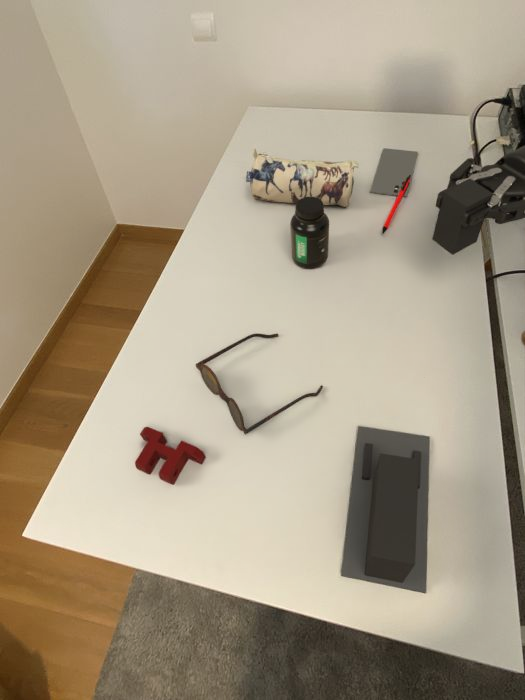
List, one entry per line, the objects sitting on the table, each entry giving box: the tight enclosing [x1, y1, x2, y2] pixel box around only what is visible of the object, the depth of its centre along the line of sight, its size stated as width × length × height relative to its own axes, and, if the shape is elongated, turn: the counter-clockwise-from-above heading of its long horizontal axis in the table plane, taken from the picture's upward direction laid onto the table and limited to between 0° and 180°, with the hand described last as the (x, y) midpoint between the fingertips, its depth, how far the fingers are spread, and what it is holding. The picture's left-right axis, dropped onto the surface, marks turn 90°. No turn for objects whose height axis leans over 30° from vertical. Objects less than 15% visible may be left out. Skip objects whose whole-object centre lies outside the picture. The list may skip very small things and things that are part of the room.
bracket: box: [134, 426, 207, 486], centre depth 71 cm, size 3×6×10 cm
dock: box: [340, 425, 431, 594], centre depth 62 cm, size 10×20×10 cm, turn 168°
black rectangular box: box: [431, 179, 493, 256], centre depth 75 cm, size 4×5×9 cm
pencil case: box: [245, 148, 359, 208], centre depth 101 cm, size 22×8×10 cm, turn 77°
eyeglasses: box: [195, 333, 324, 436], centre depth 76 cm, size 15×15×5 cm
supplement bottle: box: [289, 196, 330, 270], centre depth 89 cm, size 7×7×12 cm
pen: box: [381, 175, 411, 235], centre depth 100 cm, size 1×19×1 cm, turn 154°
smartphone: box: [369, 147, 419, 198], centre depth 107 cm, size 8×1×16 cm
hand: (450, 210), depth 72 cm, fingers closed on black rectangular box, 4 cm apart
